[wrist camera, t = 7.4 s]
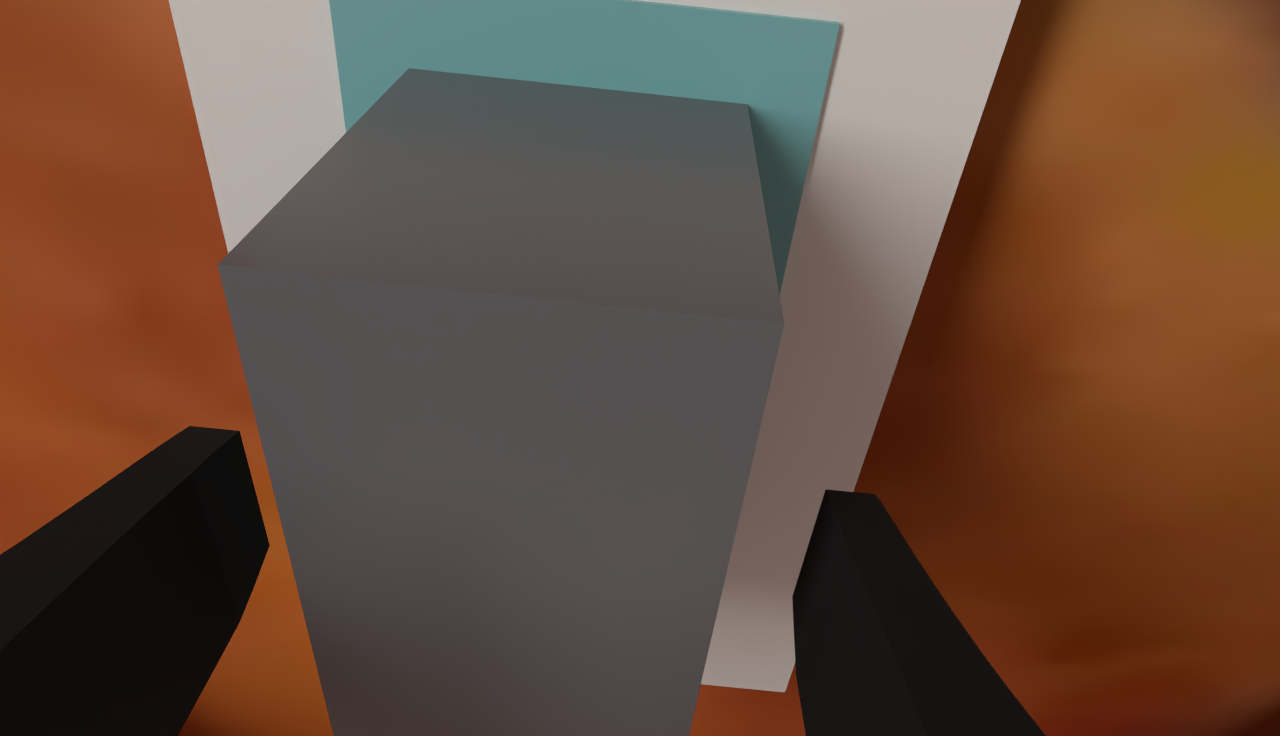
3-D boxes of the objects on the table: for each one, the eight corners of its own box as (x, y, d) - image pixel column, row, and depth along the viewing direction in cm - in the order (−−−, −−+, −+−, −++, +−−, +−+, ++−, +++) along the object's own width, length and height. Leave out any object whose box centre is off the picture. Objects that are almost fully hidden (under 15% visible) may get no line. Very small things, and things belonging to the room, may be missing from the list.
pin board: (779, 632, 19) (800, 845, 15) (345, 589, 19) (258, 792, 15) (1044, -223, 9) (1279, -221, 6) (169, -319, 9) (-183, -383, 6)
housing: (670, 563, 15) (661, 850, 11) (445, 541, 15) (354, 821, 11) (747, 103, 10) (784, 323, 6) (408, 68, 10) (217, 264, 6)
